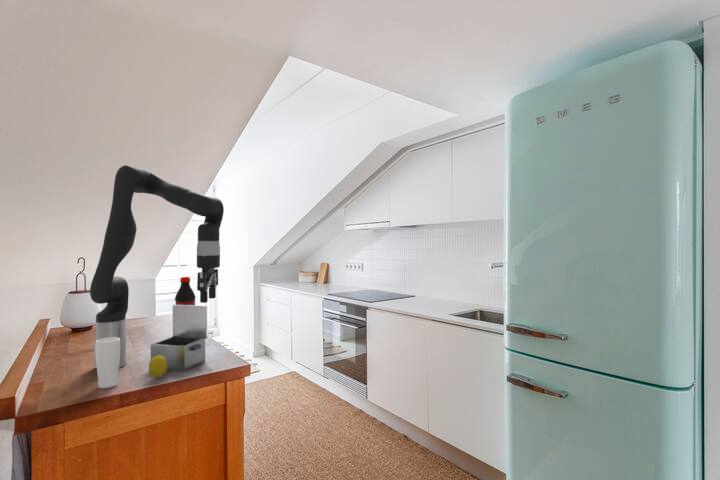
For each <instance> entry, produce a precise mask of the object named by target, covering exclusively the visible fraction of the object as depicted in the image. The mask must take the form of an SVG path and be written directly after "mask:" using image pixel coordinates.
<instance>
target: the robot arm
mask: <svg viewBox="0 0 720 480" xmlns="http://www.w3.org/2000/svg"><path fill="white" fill-rule="evenodd" d="M113 183H114V184H113V191H112V192H113V193H112V201H111V208H110V212H109V218H108V222H107V226H106V230H105V234H104V239H103V245H102V249H101V252H100V255H99V256H100V257H99V261H98V263H97V266H96V268H95V269H96V270H95V273H94V275H93V277H92V280H91V283H90V287H89V295H90V298H91V301H93V303H94V304H106V306H105V307H104V308H102V310H100V311H99V312H97V314H96V315H95V328H96V329H95V331H96V332H95V335H96V336H95V337H96V338H95V341H94V342H93V357H94V358H93V366H94V367H93V368H95V369H97V365H96V356H95V342H96V341H97V340H99V339H103V338H108V337H119V338H120V361H119V368H122V367H123V366H125V365H126V364H127V347H126V346H127V337H126V336H127V331H126V329H127V328H126V325H127V324H126V322H127V321H126V315H127V313H128V310H129V296H130V295H129V292H130V291H129V284H128V282H127V280H126V279H125V278H124V277H122V276H115V273H116V271H117V269H118V267H119V265H120V264H121V262H122V261H123V260H124V259H125V258H126V256H127V255H128V254H129V253H130V251H131V250H132V248H133V246H134V244H135V243H134V242H135V239H136V234H137V224H136V221H135V217H134V214H133V211H132V201H133V197H134V194H135V193H136V194H147V195H155V196H157V197H160V198H162V199H163V200H165V201H167V202H168V203H169V204H172V205H174V206H177V207H180V208H183V209H185V210H187V211H189V212H191V213H193V214H195V215H197V216H199V217H200V216H201V217H205V218H204V221H203V223H202V224H200V225H198V226H197V243H196V267H197V268H198V269H201V271H200V272H197V278H196V279H197V282H196V283H197V284H196V285H197V286H196V289H197V291H199V292H200V293H199V296H200V297H199V298H200V299H199V303H202V304H206V303H208V301H209V300H208V298H209V299H215V298H216V294H217V293H216V289H217V286H218V285H219V269H218V268H220V266H221V244H220V228H221V225H222V221H223V217H224V205H223V202H222V200H221V199H220V198H218V197H213V196H209V195H208V196H207V195H205V194H204V195H203V194H200V193H198V192H196V191H195V190H192V189H191V188H188V187H185V186H181V185H179V184H177V183H172V182H170V181H167V180H165V179H163V178H161V177H159V176H158V175H156V174H154V173H152V172H151V171H149V170H147V169H145V168H142V167H137V166H134V165H127V164H125V165H122V166H120V167H119V169H117V172H116V173H115V177H114V182H113Z"/></svg>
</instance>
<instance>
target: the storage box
mask: <svg viewBox="0 0 720 480" xmlns="http://www.w3.org/2000/svg"><path fill="white" fill-rule="evenodd" d="M157 355H160V356H163V357H165V359H166V361H167V370H166V372H167V371H169V372H170V371H171V372H183V373H185V372H187V371H189V370H191V369H193V368H195V367H197V366H199V365H200V364H202V363H205V362H206V339H205V338H198V337H180V336H173V335H172V336H170V337H167V338H165V339H162V340H160V341H157V342H154V343H151V344H150V360H151V359H152V358H153V357H155V356H157Z"/></svg>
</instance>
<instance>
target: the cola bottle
mask: <svg viewBox="0 0 720 480" xmlns="http://www.w3.org/2000/svg"><path fill="white" fill-rule="evenodd" d="M190 283H191V278H190V276H181V277H180V286H179V289H178V291H177V292H176V294H175V297H174V301H175V305H196V294H195V292H194V290H193V288H192V287H191V284H190Z"/></svg>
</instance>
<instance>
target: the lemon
mask: <svg viewBox="0 0 720 480" xmlns="http://www.w3.org/2000/svg"><path fill="white" fill-rule="evenodd" d="M166 372H167V361H166V359H165V357H163V356H160V355H157V356H155V357H153V358H152V359H151V358H150V360H149V364H148V373H149V374H150V375H151V376H152V377H155V378H157V379H159V378H160V377H162V376H163V375H164V374H165V373H166Z"/></svg>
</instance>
